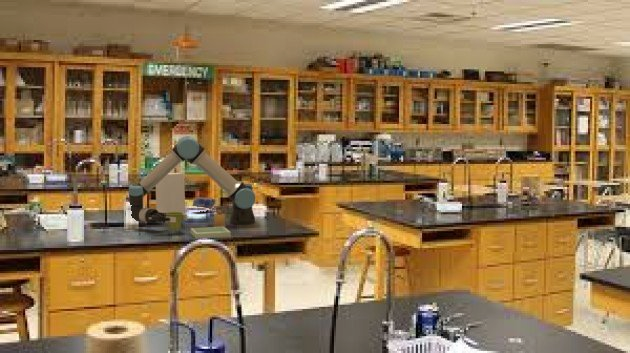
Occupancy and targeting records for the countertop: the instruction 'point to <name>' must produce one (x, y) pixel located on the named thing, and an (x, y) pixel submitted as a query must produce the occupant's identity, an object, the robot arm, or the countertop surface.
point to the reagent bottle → (219, 218)
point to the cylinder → (171, 193)
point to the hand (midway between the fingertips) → (181, 218)
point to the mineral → (204, 202)
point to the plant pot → (176, 224)
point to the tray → (210, 232)
